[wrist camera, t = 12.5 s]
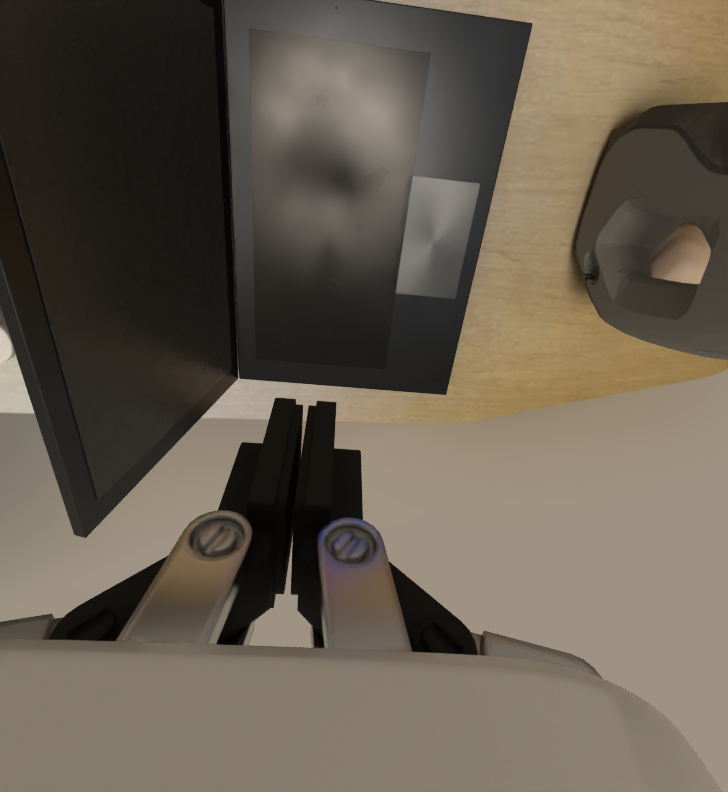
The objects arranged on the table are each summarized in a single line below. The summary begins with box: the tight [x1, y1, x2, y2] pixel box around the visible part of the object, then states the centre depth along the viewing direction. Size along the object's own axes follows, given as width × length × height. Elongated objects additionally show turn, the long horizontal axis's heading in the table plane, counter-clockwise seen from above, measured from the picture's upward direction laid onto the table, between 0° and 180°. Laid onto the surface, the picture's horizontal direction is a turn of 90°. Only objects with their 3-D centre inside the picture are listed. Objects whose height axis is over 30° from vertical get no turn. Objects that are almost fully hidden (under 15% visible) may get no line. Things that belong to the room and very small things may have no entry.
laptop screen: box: [0, 0, 238, 538], centre depth 28 cm, size 21×30×1 cm
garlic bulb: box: [650, 224, 711, 284], centre depth 39 cm, size 7×6×8 cm
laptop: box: [223, 0, 532, 395], centre depth 39 cm, size 21×30×2 cm
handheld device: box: [575, 102, 728, 360], centre depth 28 cm, size 6×15×25 cm, turn 171°
